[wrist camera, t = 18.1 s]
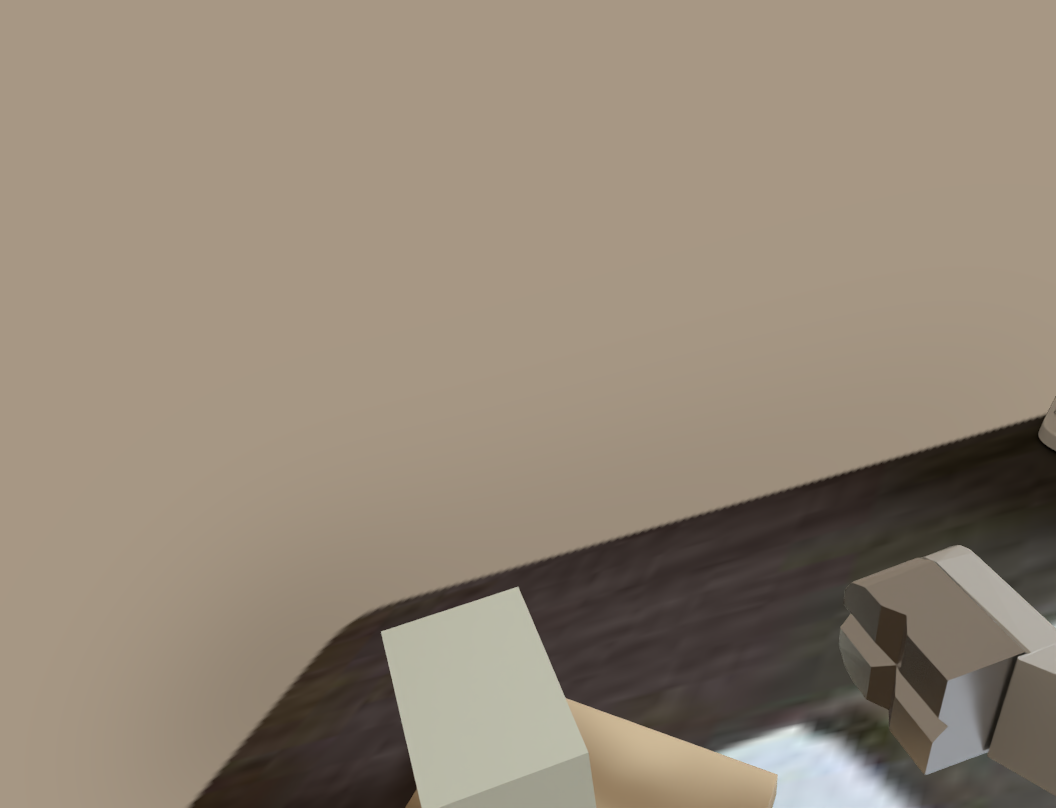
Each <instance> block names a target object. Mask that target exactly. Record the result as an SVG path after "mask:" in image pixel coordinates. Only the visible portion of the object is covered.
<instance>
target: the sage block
mask: <svg viewBox="0 0 1056 808" xmlns="http://www.w3.org/2000/svg"><path fill="white" fill-rule="evenodd" d="M381 634H382V638H383V642H384V647H385V651H386V655H387V660H388V664H389V668H390V673H391V677H392V681H393V686H394V690H395V695H396V699H397V703H398V708H399V712H400V716H401V721H402V725H403V729H404V734H405V738H406V742H407V747H408V751H409V755H410V760H411V764H412V768H413V773H414V777H415V781H416V786H417V790H418V795H419V799H420V803H421V808H596V801H595V794H594V787H593V781H592V774H591V767H590V760H589V753H588V750H587V748H586V746H585V743H584V741H583V738H582V736H581V734H580V731H579V729H578V727H577V724H576V722H575V720H574V717H573V715H572V713H571V710H570V708H569V705H568V703H567V701H566V698H565V696H564V694H563V691H562V689H561V687H560V684H559V682H558V680H557V677H556V675H555V672H554V670H553V668H552V665H551V663H550V661H549V658H548V656H547V654H546V651H545V649H544V646H543V644H542V642H541V639H540V637H539V635H538V632H537V630H536V628H535V625H534V623H533V621H532V618H531V616H530V613H529V611H528V609H527V606H526V604H525V602H524V599H523V597H522V595H521V592H520V590H519V588H518V587H516V588H513V589H510V590H507V591H504V592H501V593H498V594H495V595H491V596H488V597H485V598H482V599H479V600H476V601H473V602H470V603H467V604H464V605H461V606H458V607H455V608H452V609H449V610H446V611H443V612H440V613H437V614H433V615H430V616H427V617H424V618H421V619H418V620H415V621H412V622H409V623H406V624H403V625H400V626H397V627H394V628H391V629H388V630H385V631H382V632H381Z"/></svg>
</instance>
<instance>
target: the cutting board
mask: <svg viewBox="0 0 1056 808" xmlns="http://www.w3.org/2000/svg"><path fill="white" fill-rule="evenodd" d="M566 701H567V703H568V705H569V708H570V710H571V713H572V715H573V717H574V720H575V722H576V724H577V727H578V729H579V731H580V734H581V736H582V738H583V741H584V743H585V746H586V748H587V750H588V753H589V760H590V767H591V774H592V781H593V787H594V794H595V801H596V808H772V806H773V803H774V800H775V796H776V789H777V776H778V775H777V774H774V773H771V772H769V771H766V770H763V769H760V768H757V767H755V766H752V765H749V764H746V763H744V762H741V761H738V760H735V759H733V758H730V757H727V756H724V755H721V754H719V753H716V752H713V751H710V750H708V749H705V748H702V747H699V746H697V745H694V744H691V743H688V742H685V741H683V740H680V739H677V738H674V737H672V736H669V735H666V734H663V733H660V732H658V731H655V730H652V729H649V728H647V727H644V726H641V725H638V724H636V723H633V722H630V721H627V720H624V719H622V718H619V717H616V716H613V715H611V714H608V713H605V712H602V711H600V710H597V709H594V708H591V707H588V706H586V705H583V704H580V703H577V702H575V701H572V700H569V699H566ZM405 808H421V803H420V799H419V795H418V790H416V791H415V793H414V794H413V796H412V798H411V799H410V801H409V802H408V804H407V806H406V807H405Z"/></svg>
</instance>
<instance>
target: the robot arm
mask: <svg viewBox="0 0 1056 808" xmlns="http://www.w3.org/2000/svg"><path fill="white" fill-rule="evenodd" d="M1038 436H1039V438H1040V440H1041V441H1042V442H1043V443H1044V444H1045V445H1047V446H1048V447H1050V448H1051V449H1053V450H1055V451H1056V397H1055V399H1054V401H1053V403H1052V405H1051V407H1050V409H1049V411H1048V413H1047V415H1046V417H1045V419H1044V421H1043V423H1042V425H1041V427H1040V430H1039V433H1038ZM843 604H844V605H845V607H846V608H847V609H848V610H849V611H850V613H851V614H850V616H849V617H848V618H847V619H846V621H845V622H844V623H843V625H842V626H841V627H840V639H839V647H840V651H841V654H842V658H843V661H844V665H845V667H846V669H847V671H848V673H849V675H850V676H851V678H852V680H853V682H854V684H855V685H856V686H857V688H858V689H859V690H860V692H861V693H862V694H863V696H864V697H865V698H866V699H867V700H869V701H871V702H873V703H875V704H877V705H879V706H881V707H884V708H886V709H888V710H889V730H890V731H891V732H892V734H893V735H894V736H895V737H896V739H897V740H898V741H899V743H900V744H901V745H902V746H903V748H904V749H905V750H906V752H907V753H908V754H909V755H910V757H911V758H912V759H913V761H914V762H915V763H916V764H917V766H918V767H919V768H920V770H921V771H922V772H923V773H924V775H927V774H929V773H932V772H935V771H937V770H940V769H943V768H946V767H948V766H951V765H954V764H956V763H959V762H962V761H964V760H967V759H970V758H973V757H975V756H978V755H981V754H983V753H986V752H988V755H987V756H988V757H989V758H991V759H993V760H995V761H996V762H998V763H1000V764H1001V765H1003V766H1005V767H1007V768H1008V769H1010V770H1012V771H1013V772H1015V773H1017V774H1019V775H1020V776H1022V777H1024V778H1025V779H1027V780H1029V781H1031V782H1032V783H1034V784H1036V785H1038V786H1039V787H1041V788H1043V789H1044V790H1046V791H1048V792H1050V793H1051V794H1053V795H1055V796H1056V628H1055V627H1054V626H1053V625H1052V624H1050V623H1049V622H1048V621H1047V620H1046V619H1045V618H1044V617H1043V616H1042V615H1041V614H1040V613H1039V612H1037V611H1036V610H1035V609H1034V608H1033V607H1032V606H1031V605H1030V604H1029V603H1028V602H1027V601H1026V600H1024V599H1023V598H1022V597H1021V596H1020V595H1019V594H1018V593H1017V592H1016V591H1015V590H1014V589H1013V588H1011V587H1010V586H1009V585H1008V584H1007V583H1006V582H1005V581H1004V580H1003V579H1002V578H1001V577H1000V576H998V575H997V574H996V573H995V572H994V571H993V570H992V569H991V568H990V567H989V566H988V565H986V564H985V563H984V562H983V561H982V560H981V559H980V558H979V557H978V556H977V555H976V554H975V553H973V552H972V551H971V550H970V549H968V548H965V547H963V546H961V545H957V546H951V547H948V548H946V549H943V550H941V551H938V552H935V553H933V554H930V555H927V556H925V557H922V558H915V559H913V560H910V561H907V562H905V563H902V564H899V565H897V566H894V567H891V568H889V569H886V570H883V571H881V572H878V573H875V574H873V575H870V576H867V577H865V578H862V579H859V580H857V581H854V582H851V584H850V585H849V586H848V587H847V588H846V589H845V595H844V601H843Z"/></svg>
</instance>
